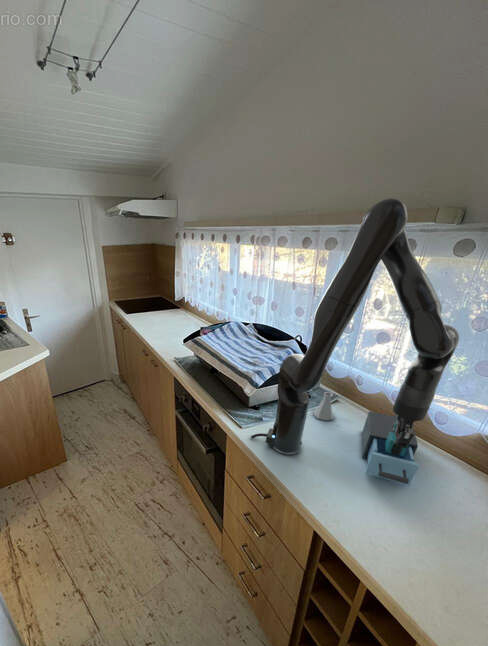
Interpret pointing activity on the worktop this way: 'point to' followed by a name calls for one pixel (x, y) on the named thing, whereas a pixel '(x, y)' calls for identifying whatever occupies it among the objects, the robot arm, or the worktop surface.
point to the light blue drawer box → (390, 463)
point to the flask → (325, 408)
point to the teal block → (390, 443)
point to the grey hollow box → (380, 431)
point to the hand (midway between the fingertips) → (394, 448)
